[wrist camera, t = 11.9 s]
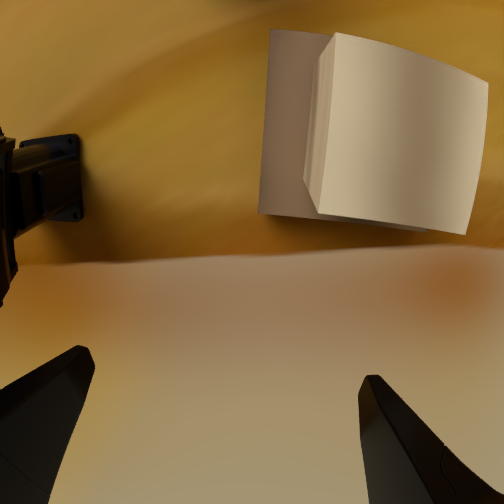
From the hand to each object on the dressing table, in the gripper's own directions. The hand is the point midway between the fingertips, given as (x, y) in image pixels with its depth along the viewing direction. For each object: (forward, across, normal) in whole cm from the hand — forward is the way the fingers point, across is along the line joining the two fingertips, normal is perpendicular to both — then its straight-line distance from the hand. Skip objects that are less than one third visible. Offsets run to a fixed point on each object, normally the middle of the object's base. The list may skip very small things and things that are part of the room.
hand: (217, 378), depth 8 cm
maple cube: (+9, -6, -7) cm, 13 cm away
